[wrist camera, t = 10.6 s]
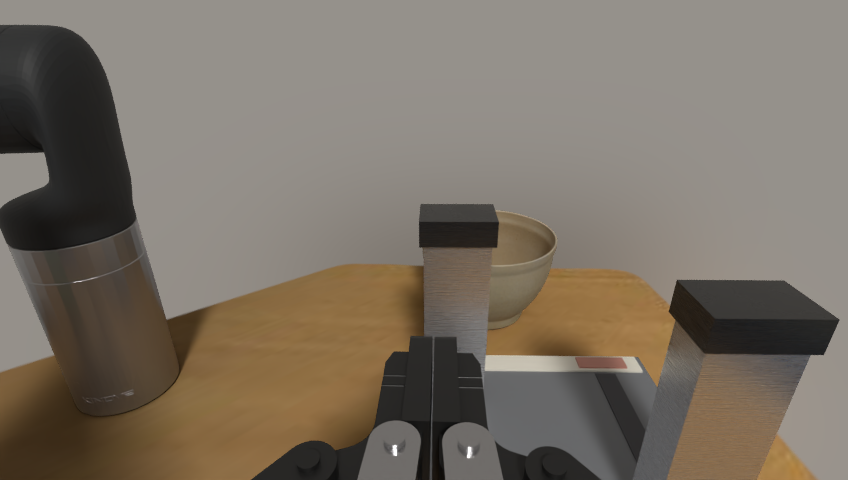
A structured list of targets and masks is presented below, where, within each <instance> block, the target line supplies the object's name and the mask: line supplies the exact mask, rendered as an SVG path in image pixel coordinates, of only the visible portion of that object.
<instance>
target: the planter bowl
mask: <svg viewBox="0 0 848 480" xmlns="http://www.w3.org/2000/svg"><path fill="white" fill-rule="evenodd" d="M495 212H496V215H497V217H498V220H499V230H498V245H497V248H492V264H491V279H490V295H489V311H488V327H487V330H490V329H499V328H503V327H507V326H509V325H511V324H513V323H514V322H515V321H517V319H518V318H519V317H520V315H521V312H522V310H524V309H525V308H526V307H527V306H528V305H529V304H530V303H531V302H532V301H533V300H534V299H535V297H536V296H537V295H538V293H539V292H540V290H541V289H542V287H543V285H544V283H545V281H546V279H547V277H548V274H549V271H550V268H551V264H552V260H553V255H554V253H555V251H556V247H557V237H556V235H555V233H554V232H553V230H552V229H551V228H549V227H548V226H547V225H545V224H544V223H542V222H540V221H537V220H536V219H533V218H530V217H527V216H524V215H521V214H517V213H512V212H506V211H499V210H495ZM422 248H423V258H424V247H422Z"/></svg>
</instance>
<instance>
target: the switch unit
mask: <svg viewBox="0 0 848 480" xmlns="http://www.w3.org/2000/svg"><path fill="white" fill-rule="evenodd" d="M656 391H657V387H656V385H655V383H654V382H653V380H652V379H651V377H650V375H649V374H648V372H647V371H646V369H645V367H644V366H643V364H642V363H641V361H640V360H639V358H638V357H601V356H506V355H486V358H485V374H484V399H485V407H486V416H487V425H488V430H489V432H490V433H491V434H492V436H493V438H494V440H495V441H496V442H497V443H498V444H499V445H500V446H502V447H503V448H505V449H507V450H509V451H512V452H515V453H518V454H521V455H525V456H528V454H529V453H530V452H531V451H532V450H534V449H536V448H539V447H543V446H551V447H556V448H560V449H562V450H564V451H566V452H568V453H569V454H571V455H572V456H573V457H574V458H576V459H577V460H578V461H579V462H580V463H582V464H583V465H584V466H585V467H586V468H588V469H589V470H590V471H591V472H593V473H594V474H595V475H596V476H597V477H599V478H600V479H601V480H633V477H634V473H635V469H636V466H637V462H638V458H639V454H640V451H641V447H642V443H643V440H644V436H645V432H646V428H647V425H648V421H649V417H650V413H651V410H652V406H653V402H654V399H655V395H656ZM432 410H433V394H432ZM430 480H432V417H431V451H430Z"/></svg>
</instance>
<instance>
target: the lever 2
mask: <svg viewBox="0 0 848 480" xmlns="http://www.w3.org/2000/svg"><path fill="white" fill-rule="evenodd" d="M669 313H670V314H671V315H672V316H673V317H674V319H675V324H674V328H673V331H672V335H671V339H670V343H669V346H668V350H667V354H666V358H665V361H664V365H663V369H662V372H661V376H660V380H659V384H658V387H657V391H656V395H655V399H654V402H653V406H652V410H651V413H650V417H649V421H648V425H647V428H646V432H645V436H644V440H643V443H642V447H641V451H640V454H639V458H638V462H637V466H636V469H635V473H634V477H633V480H757V478H758V476H759V474H760V471H761V469H762V467H763V464H764V462H765V460H766V457H767V455H768V453H769V450H770V448H771V446H772V443H773V441H774V439H775V437H776V434H777V432H778V430H779V427H780V425H781V423H782V420H783V418H784V416H785V413H786V411H787V409H788V406H789V404H790V402H791V400H792V397H793V395H794V393H795V390H796V388H797V385H798V383H799V381H800V379H801V376H802V374H803V372H804V369H805V367H806V365H807V363H808V360H809V358H810V356H811V355H824V353H825V351H826V349H827V347H828V344H829V342H830V340H831V338H832V335H833V333H834V331H835V329H836V327H837V324H838V322H839V319H838V318H836V317H835V316H834V315H832V314H831V313H829V312H828V311H826V310H825V309H824V308H822V307H821V306H819V305H818V304H817V303H815V302H814V301H812V300H811V299H809V298H808V297H806V296H805V295H804V294H802V293H801V292H799V291H798V290H796V289H795V288H794V287H792V286H791V285H790V284H788V283H787V282H785V281H752V280H749V281H748V280H736V281H735V280H677V282H676V286H675V290H674V294H673V297H672V301H671V305H670V309H669Z"/></svg>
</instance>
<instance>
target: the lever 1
mask: <svg viewBox="0 0 848 480" xmlns="http://www.w3.org/2000/svg"><path fill="white" fill-rule="evenodd" d="M498 230H499V220H498V217H497V215H496V212H495V209H494V206H493V204H492V205H491V204H487V205H486V204H481V205H480V204H479V205H478V204H421V207H420V218H419V247H424V336H433V373H434V337H456V338H457V353H473V354H474V356H475V357H476V359H477V360H478V361H479V363H480V364H481V373H482V381H483V390H484V374H485V358H486V342H487V327H488V311H489V295H490V279H491V264H492V248H497V245H498ZM433 373H432V394H433Z"/></svg>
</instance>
